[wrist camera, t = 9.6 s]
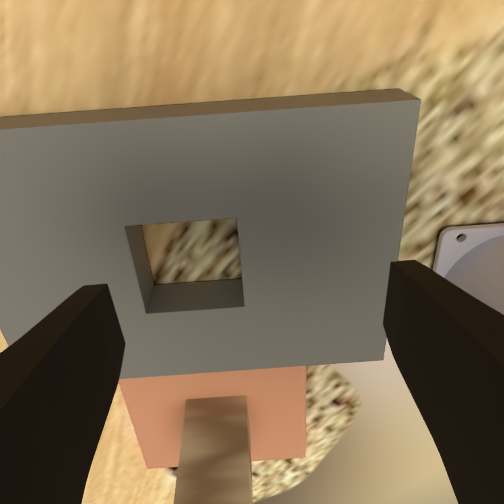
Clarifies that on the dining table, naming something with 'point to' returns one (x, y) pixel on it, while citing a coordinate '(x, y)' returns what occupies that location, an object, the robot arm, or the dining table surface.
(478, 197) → the dining table surface
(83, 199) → the pocket plate
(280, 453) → the mat
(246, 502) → the peg
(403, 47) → the dining table surface
